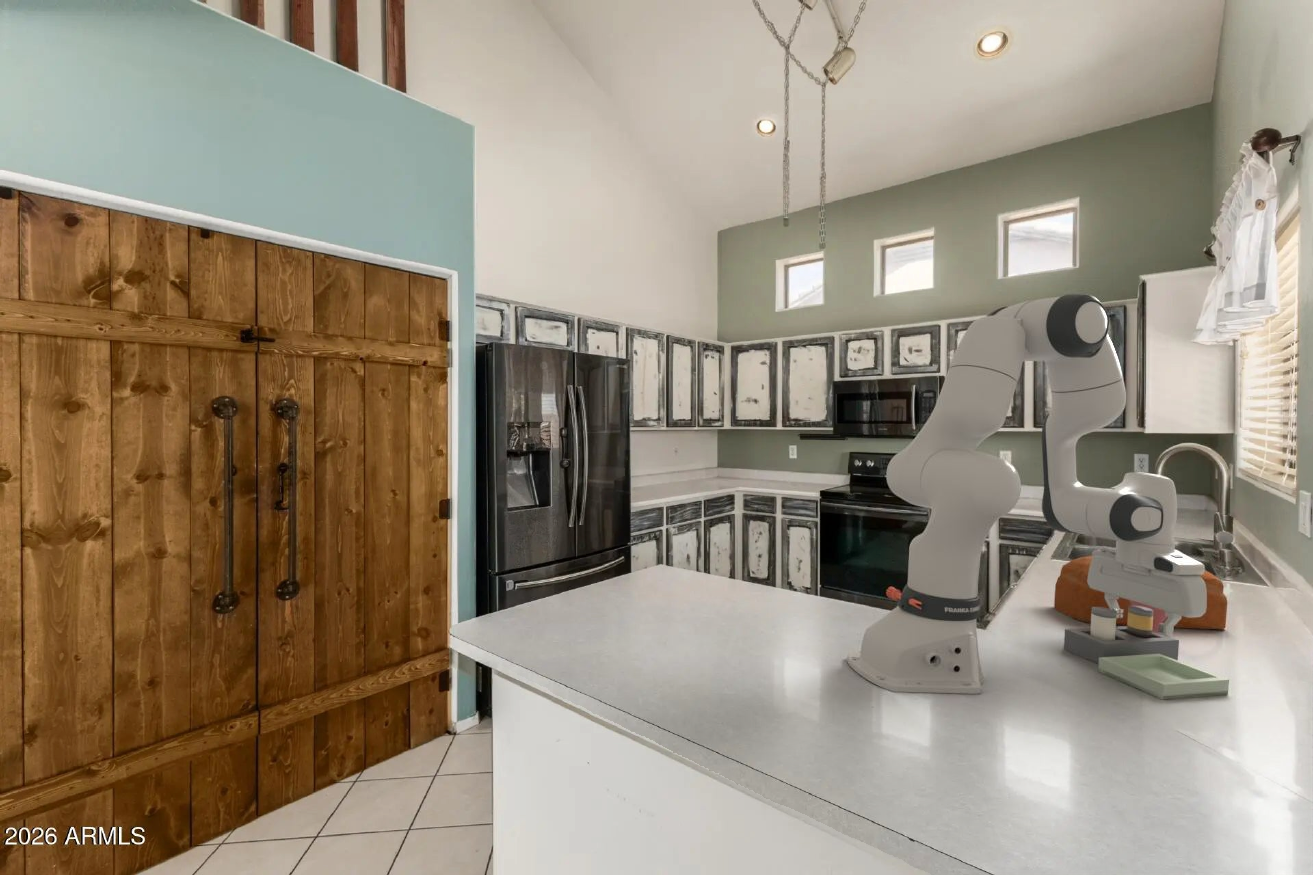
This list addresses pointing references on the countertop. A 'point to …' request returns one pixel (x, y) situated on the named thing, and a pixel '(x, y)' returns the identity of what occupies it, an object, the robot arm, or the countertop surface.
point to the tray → (1163, 676)
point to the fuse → (1103, 623)
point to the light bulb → (1157, 615)
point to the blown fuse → (1140, 621)
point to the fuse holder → (1118, 644)
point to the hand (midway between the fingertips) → (1139, 625)
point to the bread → (1080, 599)
